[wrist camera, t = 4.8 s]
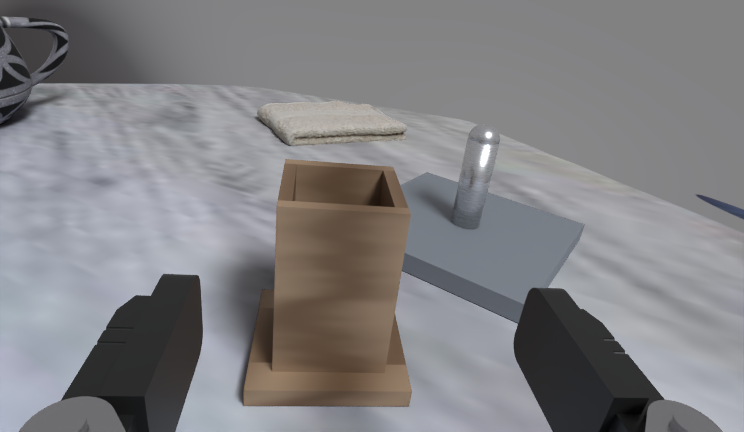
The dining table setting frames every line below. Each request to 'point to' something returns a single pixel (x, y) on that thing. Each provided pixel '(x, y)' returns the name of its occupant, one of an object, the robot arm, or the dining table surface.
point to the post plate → (482, 234)
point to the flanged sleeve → (333, 291)
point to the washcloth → (329, 123)
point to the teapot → (9, 72)
